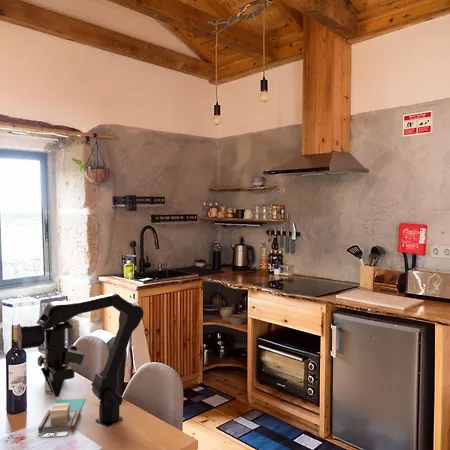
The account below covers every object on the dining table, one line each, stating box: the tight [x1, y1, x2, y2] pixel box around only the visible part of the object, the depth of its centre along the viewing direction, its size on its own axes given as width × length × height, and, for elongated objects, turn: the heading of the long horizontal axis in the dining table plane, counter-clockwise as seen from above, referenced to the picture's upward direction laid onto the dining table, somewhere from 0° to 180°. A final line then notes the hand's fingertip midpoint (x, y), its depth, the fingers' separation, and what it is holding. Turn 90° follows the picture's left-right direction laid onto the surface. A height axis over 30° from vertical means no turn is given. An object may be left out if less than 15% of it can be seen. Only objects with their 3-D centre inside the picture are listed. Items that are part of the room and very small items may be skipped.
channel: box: [37, 408, 82, 438], centre depth 136 cm, size 14×11×2 cm
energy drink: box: [44, 378, 54, 395], centre depth 162 cm, size 5×5×12 cm
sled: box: [43, 403, 77, 431], centre depth 137 cm, size 10×8×5 cm
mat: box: [50, 398, 86, 414], centre depth 150 cm, size 10×10×1 cm
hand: (55, 394), depth 129 cm, fingers open, 4 cm apart
